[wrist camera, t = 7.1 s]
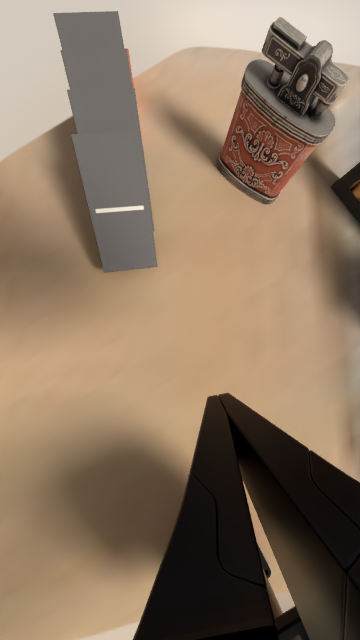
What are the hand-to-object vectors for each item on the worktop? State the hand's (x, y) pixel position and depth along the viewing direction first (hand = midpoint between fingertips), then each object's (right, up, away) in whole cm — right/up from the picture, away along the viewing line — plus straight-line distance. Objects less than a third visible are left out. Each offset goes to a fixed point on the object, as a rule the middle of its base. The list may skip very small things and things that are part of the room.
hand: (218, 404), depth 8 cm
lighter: (+6, +19, +14) cm, 25 cm away
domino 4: (-6, +8, +11) cm, 15 cm away
